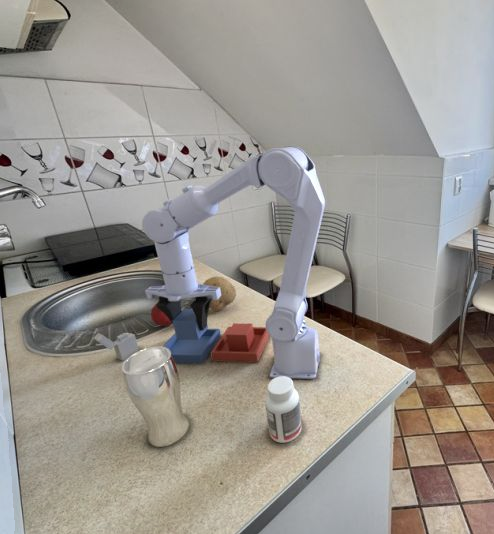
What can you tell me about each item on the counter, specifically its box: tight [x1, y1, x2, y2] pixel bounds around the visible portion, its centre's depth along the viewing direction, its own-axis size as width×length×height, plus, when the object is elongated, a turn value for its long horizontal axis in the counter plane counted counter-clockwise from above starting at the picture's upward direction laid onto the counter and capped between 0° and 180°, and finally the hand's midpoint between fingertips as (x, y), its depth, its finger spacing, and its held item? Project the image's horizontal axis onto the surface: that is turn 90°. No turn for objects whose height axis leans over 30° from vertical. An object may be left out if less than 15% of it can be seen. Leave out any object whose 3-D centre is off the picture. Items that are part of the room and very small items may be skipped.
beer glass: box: [121, 345, 190, 448], centre depth 51 cm, size 7×7×15 cm
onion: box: [150, 300, 172, 327], centre depth 83 cm, size 6×6×8 cm
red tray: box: [210, 326, 270, 363], centre depth 75 cm, size 10×10×2 cm
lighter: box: [92, 332, 140, 361], centre depth 71 cm, size 7×2×8 cm, turn 154°
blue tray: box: [162, 328, 222, 365], centre depth 75 cm, size 10×10×2 cm
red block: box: [226, 322, 255, 352], centre depth 74 cm, size 5×5×5 cm
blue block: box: [172, 308, 209, 340], centre depth 68 cm, size 5×5×5 cm
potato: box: [202, 276, 237, 312], centre depth 90 cm, size 9×9×10 cm
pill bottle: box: [264, 376, 302, 444], centre depth 52 cm, size 5×5×10 cm
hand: (191, 327), depth 68 cm, fingers closed on blue block, 4 cm apart
